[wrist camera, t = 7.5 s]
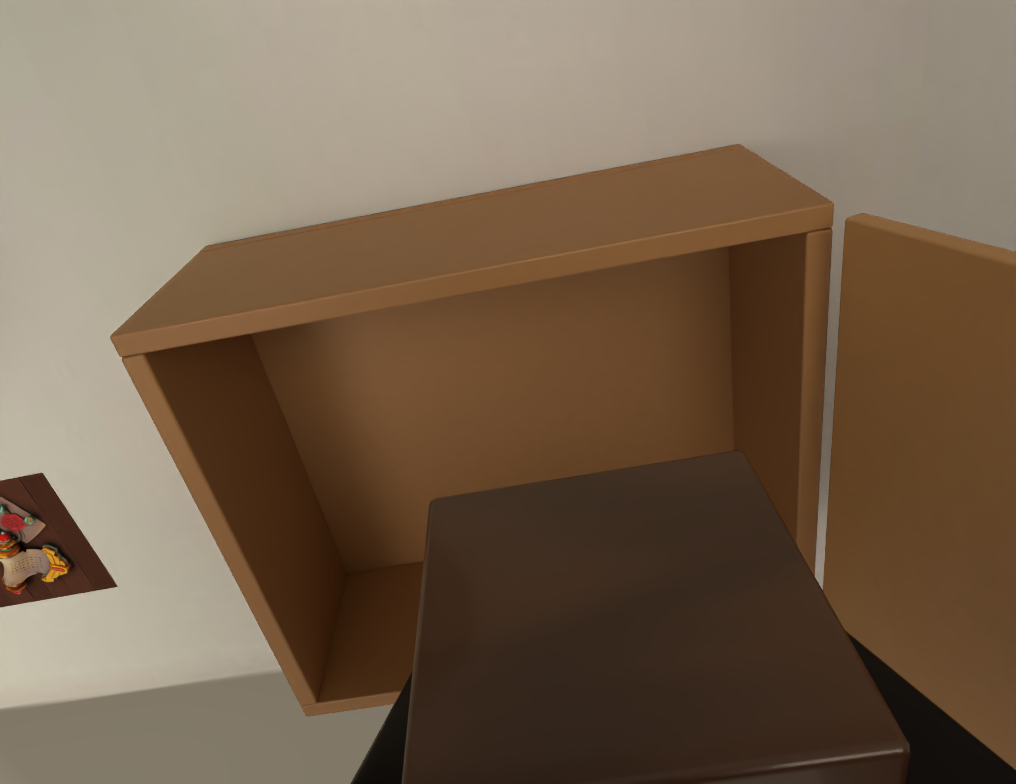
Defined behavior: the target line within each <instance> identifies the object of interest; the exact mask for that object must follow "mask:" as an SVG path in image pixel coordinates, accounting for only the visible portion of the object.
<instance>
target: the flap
mask: <svg viewBox="0 0 1016 784" xmlns="http://www.w3.org/2000/svg"><path fill="white" fill-rule="evenodd" d="M823 592H824V594H825V596H826V598H827V599H828V601H829V603H830V605H831V606H832V608H833V610H834V612H835V614H836V615H837V617H838V619H839V621H840V622H841V624H842V626H843V628H844V629H845V630H846V631H847V632H848V633H849V634H850V635H852V636H853V637H854V638H855V639H857V640H858V641H859V642H860V643H861V644H863V645H864V646H865V647H866V648H868V649H869V650H870V651H871V652H872V653H874V654H875V655H876V656H877V657H879V658H880V659H881V660H882V661H883V662H885V663H886V664H887V665H888V666H890V667H891V668H892V669H893V670H894V671H896V672H897V673H898V674H899V675H901V676H902V677H903V678H904V679H905V680H907V681H908V682H909V683H910V684H912V685H913V686H914V687H915V688H916V689H918V690H919V691H920V692H921V693H922V694H924V695H925V696H926V697H927V698H929V699H930V700H931V701H932V702H933V703H935V704H936V705H937V706H938V707H940V708H941V709H942V710H943V711H944V712H946V713H947V714H948V715H949V716H951V717H952V718H953V719H954V720H955V721H957V722H958V723H959V724H960V725H962V726H963V727H964V728H965V729H966V730H968V731H969V732H970V733H971V734H973V735H974V736H975V737H976V738H977V739H979V740H980V741H981V742H982V743H984V744H985V745H986V746H987V747H988V748H990V749H991V750H992V751H993V752H995V753H996V754H997V755H998V756H999V757H1001V758H1002V759H1003V760H1004V761H1006V762H1007V763H1008V764H1009V765H1010V766H1012V767H1013V768H1014V769H1015V770H1016V252H1014V251H1010V250H1006V249H1002V248H998V247H995V246H991V245H987V244H983V243H979V242H975V241H971V240H967V239H963V238H959V237H955V236H951V235H947V234H943V233H939V232H936V231H932V230H928V229H924V228H920V227H916V226H912V225H908V224H904V223H900V222H896V221H892V220H888V219H884V218H880V217H877V216H873V215H869V214H865V213H861V214H858V215H855V216H852V217H849V218H847V219H846V220H845V233H844V250H843V266H842V283H841V299H840V316H839V332H838V349H837V365H836V382H835V399H834V415H833V432H832V448H831V465H830V481H829V498H828V514H827V531H826V547H825V564H824V581H823Z"/></svg>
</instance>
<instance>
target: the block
mask: <svg viewBox="0 0 1016 784" xmlns="http://www.w3.org/2000/svg"><path fill="white" fill-rule="evenodd" d="M910 755H911V753H910V745H909V743H908V741H907V739H906V737H905V736H904V734H903V732H902V730H901V729H900V727H899V725H898V723H897V722H896V720H895V718H894V716H893V714H892V713H891V711H890V709H889V707H888V706H887V704H886V702H885V700H884V699H883V697H882V695H881V693H880V691H879V690H878V688H877V686H876V684H875V683H874V681H873V679H872V677H871V676H870V674H869V672H868V670H867V668H866V667H865V665H864V663H863V661H862V660H861V658H860V656H859V654H858V652H857V651H856V649H855V647H854V645H853V644H852V642H851V640H850V638H849V637H848V635H847V633H846V631H845V629H844V628H843V626H842V624H841V622H840V621H839V619H838V617H837V615H836V614H835V612H834V610H833V608H832V606H831V605H830V603H829V601H828V599H827V598H826V596H825V594H824V592H823V591H822V589H821V587H820V585H819V583H818V582H817V580H816V578H815V576H814V575H813V573H812V571H811V569H810V568H809V566H808V564H807V562H806V560H805V559H804V557H803V555H802V553H801V552H800V550H799V548H798V546H797V545H796V543H795V541H794V539H793V537H792V536H791V534H790V532H789V530H788V529H787V527H786V525H785V523H784V522H783V520H782V518H781V516H780V514H779V513H778V511H777V509H776V507H775V506H774V504H773V502H772V500H771V498H770V497H769V495H768V493H767V491H766V490H765V488H764V486H763V484H762V483H761V481H760V479H759V477H758V475H757V474H756V472H755V470H754V468H753V467H752V465H751V463H750V461H749V460H748V458H747V456H746V454H745V453H744V452H743V451H739V450H735V451H729V452H722V453H716V454H710V455H704V456H697V457H691V458H685V459H679V460H672V461H666V462H660V463H653V464H647V465H641V466H635V467H628V468H622V469H616V470H610V471H603V472H597V473H591V474H584V475H578V476H572V477H566V478H559V479H553V480H547V481H541V482H534V483H528V484H522V485H516V486H509V487H503V488H497V489H490V490H484V491H478V492H472V493H465V494H459V495H453V496H447V497H440V498H435V499H433V500H431V502H430V505H429V512H428V522H427V532H426V543H425V553H424V563H423V573H422V583H421V593H420V603H419V613H418V623H417V633H416V643H415V653H414V663H413V673H412V683H411V693H410V703H409V713H408V724H407V734H406V744H405V754H404V764H403V774H402V784H905V781H906V776H907V770H908V765H909V760H910Z"/></svg>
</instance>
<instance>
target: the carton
mask: <svg viewBox="0 0 1016 784" xmlns="http://www.w3.org/2000/svg"><path fill="white" fill-rule="evenodd" d="M833 209H834V204H833V202H832V201H830V200H828V199H827V198H825V197H824V196H822V195H820V194H819V193H817V192H816V191H814V190H812V189H811V188H809V187H808V186H806V185H804V184H803V183H801V182H799V181H798V180H796V179H795V178H793V177H791V176H790V175H788V174H787V173H785V172H783V171H782V170H780V169H779V168H777V167H775V166H774V165H772V164H771V163H769V162H767V161H766V160H764V159H763V158H761V157H759V156H758V155H756V154H755V153H753V152H751V151H750V150H748V149H746V148H745V147H743V146H742V145H740V144H737V145H732V146H726V147H721V148H716V149H711V150H706V151H700V152H695V153H690V154H685V155H680V156H674V157H669V158H664V159H659V160H653V161H648V162H643V163H638V164H633V165H627V166H622V167H617V168H612V169H607V170H601V171H596V172H591V173H586V174H580V175H575V176H570V177H565V178H560V179H554V180H549V181H544V182H539V183H534V184H528V185H523V186H518V187H513V188H507V189H502V190H497V191H492V192H487V193H481V194H476V195H471V196H466V197H460V198H455V199H450V200H445V201H440V202H434V203H429V204H424V205H419V206H414V207H408V208H403V209H398V210H393V211H387V212H382V213H377V214H372V215H367V216H361V217H356V218H351V219H346V220H341V221H335V222H330V223H325V224H320V225H314V226H309V227H304V228H299V229H294V230H288V231H283V232H278V233H273V234H267V235H262V236H257V237H252V238H247V239H241V240H236V241H231V242H226V243H221V244H215V245H210V246H206V247H204V248H203V249H202V250H201V251H200V253H198V254H197V255H196V256H195V257H194V258H193V259H192V260H191V261H189V262H188V263H187V264H186V265H185V266H184V267H183V268H182V269H181V270H180V271H179V272H178V273H177V274H176V275H175V276H174V277H172V278H171V279H170V280H169V281H168V282H167V283H166V284H165V285H164V286H163V287H162V288H161V289H160V290H159V291H158V292H157V293H155V294H154V295H153V296H152V297H151V298H150V299H149V300H148V301H147V302H146V303H145V304H144V305H143V306H142V307H141V308H140V309H138V310H137V311H136V312H135V313H134V314H133V315H132V316H131V317H130V318H129V319H128V320H127V321H126V322H125V323H124V324H123V325H121V326H120V327H119V328H118V329H117V330H116V331H115V332H114V333H113V334H112V335H111V336H110V338H111V341H112V342H113V344H114V346H115V348H116V350H117V352H118V354H119V356H120V357H123V358H122V362H123V364H124V366H125V368H126V369H127V371H128V373H129V375H130V377H131V379H132V381H133V383H134V385H135V387H136V389H137V391H138V393H139V395H140V397H141V398H142V400H143V402H144V404H145V406H146V408H147V410H148V412H149V414H150V416H151V418H152V420H153V422H154V424H155V425H156V427H157V429H158V431H159V433H160V435H161V437H162V439H163V441H164V443H165V445H166V447H167V449H168V451H169V452H170V454H171V456H172V458H173V460H174V462H175V464H176V466H177V468H178V470H179V472H180V474H181V476H182V478H183V479H184V481H185V483H186V485H187V487H188V489H189V491H190V493H191V495H192V497H193V499H194V501H195V503H196V505H197V507H198V508H199V510H200V512H201V514H202V516H203V518H204V520H205V522H206V524H207V526H208V528H209V530H210V532H211V534H212V535H213V537H214V539H215V541H216V543H217V545H218V547H219V549H220V551H221V553H222V555H223V557H224V559H225V561H226V562H227V564H228V566H229V568H230V570H231V572H232V574H233V576H234V578H235V580H236V582H237V584H238V586H239V588H240V590H241V591H242V593H243V595H244V597H245V599H246V601H247V603H248V605H249V607H250V609H251V611H252V613H253V615H254V617H255V618H256V620H257V622H258V624H259V626H260V628H261V630H262V632H263V634H264V636H265V638H266V640H267V642H268V644H269V645H270V647H271V649H272V651H273V653H274V655H275V657H276V659H277V661H278V663H279V665H280V667H281V669H282V671H283V673H284V674H285V676H286V678H287V680H288V682H289V684H290V686H291V688H292V690H293V692H294V694H295V696H296V697H297V700H298V701H299V703H300V705H301V707H302V709H303V711H304V713H305V715H306V716H314V715H321V714H328V713H335V712H341V711H349V710H356V709H363V708H369V707H376V706H383V705H390V704H395V702H396V700H397V698H398V696H399V694H400V693H401V691H402V689H403V687H404V685H405V684H406V682H407V680H408V678H409V676H410V674H411V673H412V671H413V663H414V653H415V643H416V633H417V623H418V613H419V603H420V593H421V583H422V573H423V563H424V553H425V543H426V532H427V522H428V512H429V505H430V502H431V500H433V499H435V498H440V497H447V496H453V495H459V494H465V493H472V492H478V491H484V490H490V489H497V488H503V487H509V486H516V485H522V484H528V483H534V482H541V481H547V480H553V479H559V478H566V477H572V476H578V475H584V474H591V473H597V472H603V471H610V470H616V469H622V468H628V467H635V466H641V465H647V464H653V463H660V462H666V461H672V460H679V459H685V458H691V457H697V456H704V455H710V454H716V453H722V452H729V451H735V450H739V451H743V452H744V453H745V454H746V456H747V458H748V460H749V461H750V463H751V465H752V467H753V468H754V470H755V472H756V474H757V475H758V477H759V479H760V481H761V483H762V484H763V486H764V488H765V490H766V491H767V493H768V495H769V497H770V498H771V500H772V502H773V504H774V506H775V507H776V509H777V511H778V513H779V514H780V516H781V518H782V520H783V522H784V523H785V525H786V527H787V529H788V530H789V532H790V534H791V536H792V537H793V539H794V541H795V543H796V545H797V546H798V548H799V550H800V552H801V553H802V555H803V557H804V559H805V560H806V562H807V564H808V566H809V568H810V569H811V571H812V573H813V575H814V576H815V559H816V540H817V520H818V501H819V481H820V462H821V442H822V423H823V404H824V384H825V365H826V345H827V326H828V306H829V287H830V268H831V248H832V229H831V227H832V226H833Z"/></svg>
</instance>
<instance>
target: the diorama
mask: <svg viewBox="0 0 1016 784" xmlns="http://www.w3.org/2000/svg"><path fill="white" fill-rule="evenodd" d="M113 587H117V585H116V584H115V582H114V581H113V579H112V578H111V576H110V575H109V573H108V572H107V570H106V569H105V567H104V566H103V564H102V563H101V561H100V560H99V558H98V557H97V555H96V554H95V552H94V551H93V549H92V548H91V546H90V544H89V543H88V541H87V540H86V538H85V537H84V535H83V534H82V532H81V531H80V529H79V528H78V526H77V525H76V523H75V522H74V520H73V519H72V517H71V516H70V514H69V513H68V511H67V510H66V508H65V507H64V505H63V504H62V502H61V501H60V499H59V498H58V496H57V495H56V493H55V492H54V490H53V489H52V487H51V486H50V484H49V483H48V481H47V480H46V478H45V477H44V475H43V474H42V473H40V474H34V475H29V476H24V477H19V478H13V479H8V480H3V481H0V607H5V606H11V605H16V604H22V603H28V602H34V601H39V600H45V599H51V598H56V597H62V596H68V595H73V594H79V593H85V592H90V591H96V590H102V589H108V588H113Z"/></svg>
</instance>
